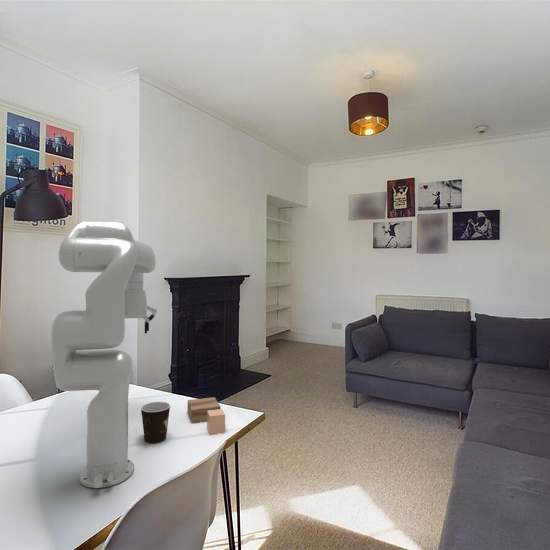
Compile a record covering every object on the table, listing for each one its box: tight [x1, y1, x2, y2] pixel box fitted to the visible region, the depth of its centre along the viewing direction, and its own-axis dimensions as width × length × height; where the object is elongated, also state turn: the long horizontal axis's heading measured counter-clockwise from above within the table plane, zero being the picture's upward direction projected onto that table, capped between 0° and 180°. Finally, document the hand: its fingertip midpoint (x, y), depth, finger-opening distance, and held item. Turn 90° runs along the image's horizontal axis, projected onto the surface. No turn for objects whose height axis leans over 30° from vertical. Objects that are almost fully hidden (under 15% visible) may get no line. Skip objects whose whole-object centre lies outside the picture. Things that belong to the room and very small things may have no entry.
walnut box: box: [187, 397, 221, 424], centre depth 132 cm, size 10×10×5 cm
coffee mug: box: [140, 401, 171, 445], centre depth 113 cm, size 12×9×10 cm
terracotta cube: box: [206, 408, 226, 436], centre depth 120 cm, size 5×5×6 cm
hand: (131, 333), depth 134 cm, fingers open, 9 cm apart
